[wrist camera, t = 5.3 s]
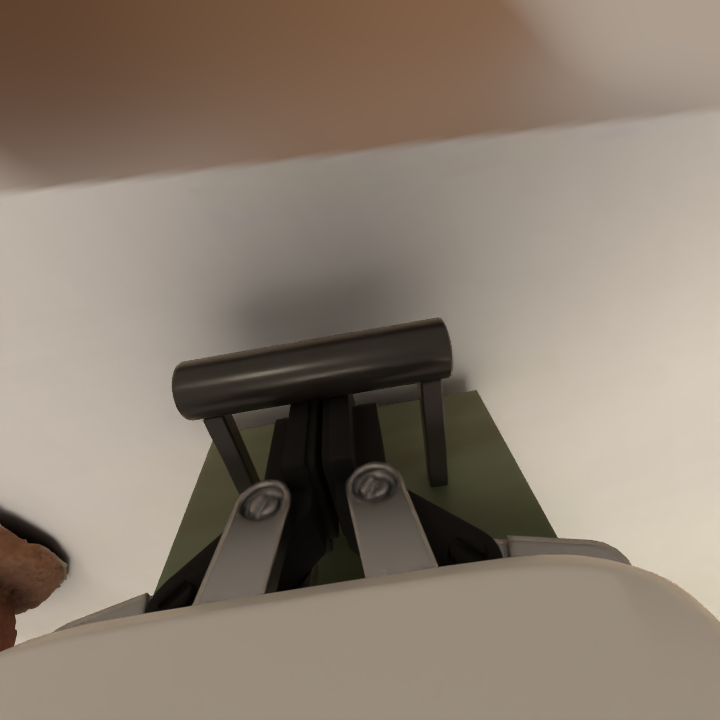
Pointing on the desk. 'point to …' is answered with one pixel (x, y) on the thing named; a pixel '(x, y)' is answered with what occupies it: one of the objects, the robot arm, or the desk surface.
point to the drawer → (397, 422)
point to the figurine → (24, 580)
